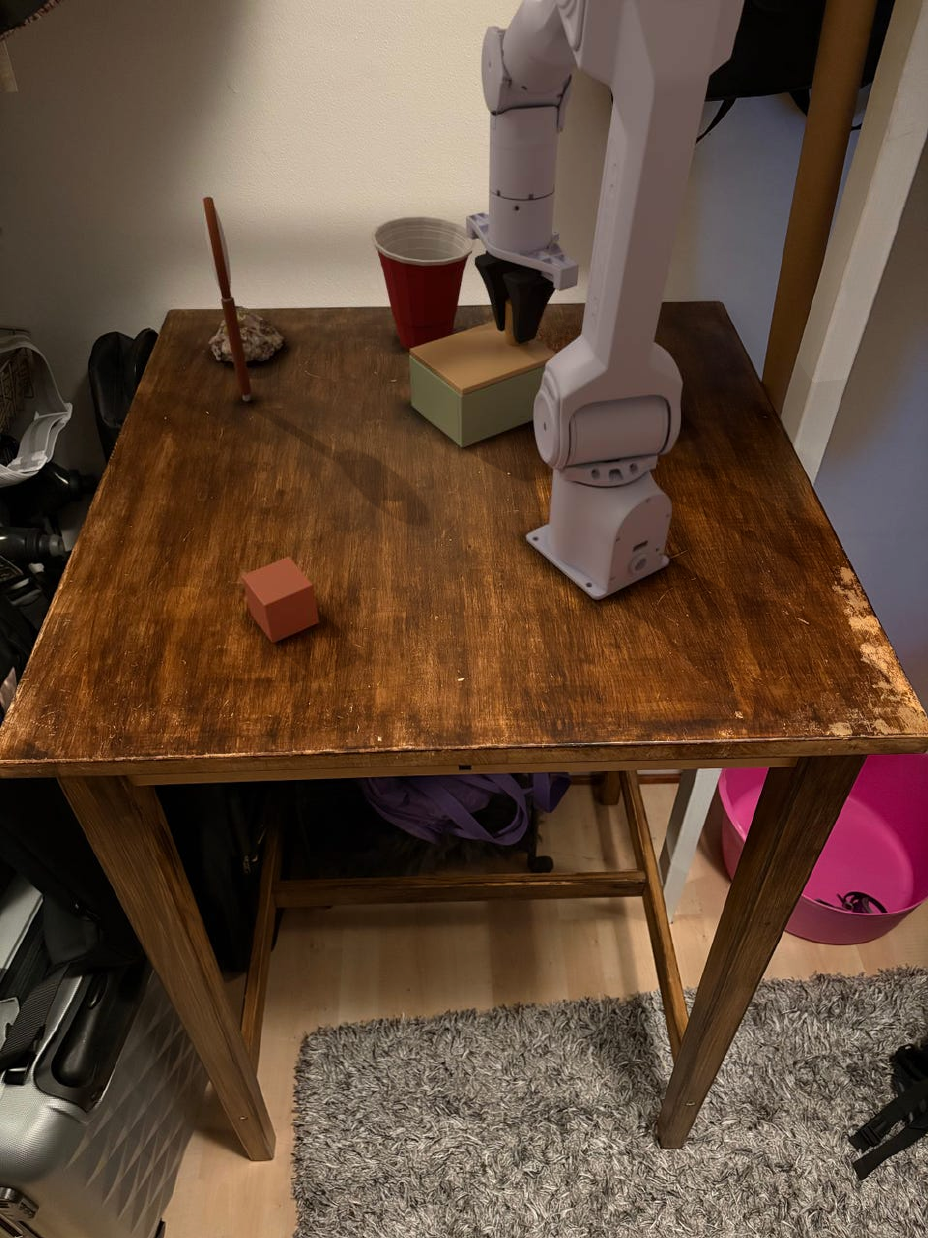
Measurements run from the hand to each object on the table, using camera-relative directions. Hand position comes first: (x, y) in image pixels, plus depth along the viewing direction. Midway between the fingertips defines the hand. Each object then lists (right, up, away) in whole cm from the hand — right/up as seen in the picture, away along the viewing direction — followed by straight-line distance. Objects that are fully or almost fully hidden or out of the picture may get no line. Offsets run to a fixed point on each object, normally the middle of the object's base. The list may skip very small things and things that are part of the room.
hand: (516, 333), depth 89 cm
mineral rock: (-30, +3, +13) cm, 32 cm away
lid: (-3, -3, -1) cm, 4 cm away
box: (-3, -7, +3) cm, 8 cm away
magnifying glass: (-27, -6, +5) cm, 28 cm away
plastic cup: (-9, +3, +13) cm, 17 cm away
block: (-19, -28, -18) cm, 38 cm away
